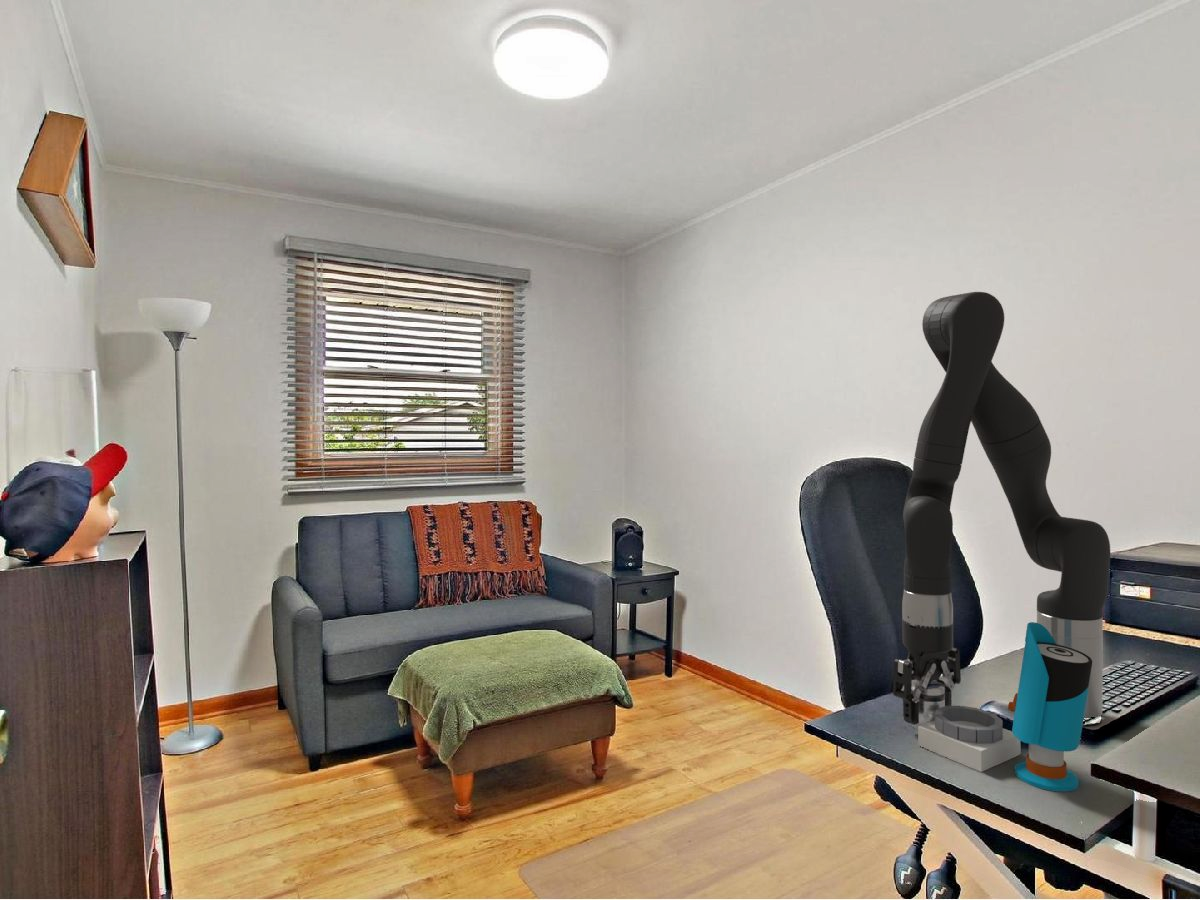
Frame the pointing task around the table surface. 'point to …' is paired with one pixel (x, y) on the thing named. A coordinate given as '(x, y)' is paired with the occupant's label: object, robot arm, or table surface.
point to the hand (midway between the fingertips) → (927, 716)
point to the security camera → (1049, 708)
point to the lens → (930, 702)
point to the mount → (969, 737)
